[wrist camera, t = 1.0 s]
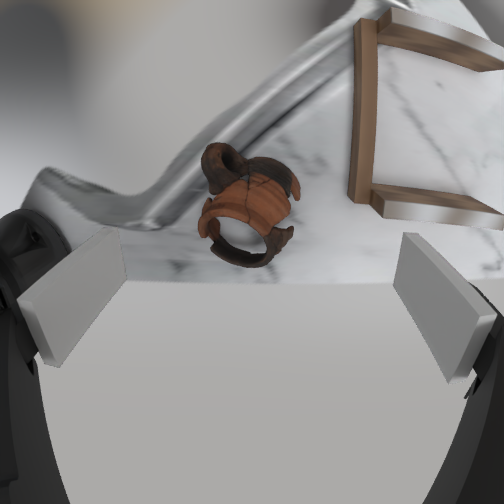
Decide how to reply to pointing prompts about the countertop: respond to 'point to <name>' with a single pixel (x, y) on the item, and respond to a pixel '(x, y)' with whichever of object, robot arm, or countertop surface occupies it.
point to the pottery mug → (246, 201)
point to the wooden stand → (365, 113)
